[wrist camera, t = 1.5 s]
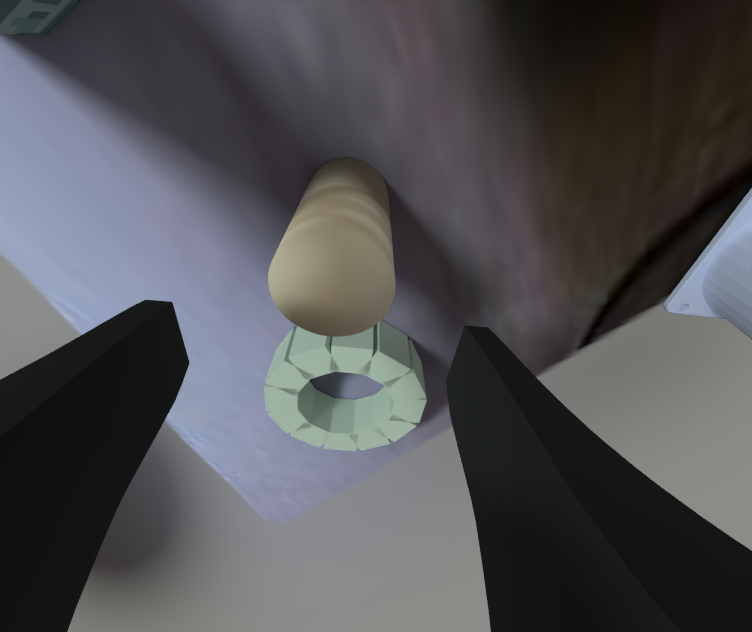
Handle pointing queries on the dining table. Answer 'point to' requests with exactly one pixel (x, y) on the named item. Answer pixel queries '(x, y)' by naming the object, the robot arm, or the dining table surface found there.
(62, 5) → the can
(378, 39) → the dining table surface
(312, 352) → the pale green segmented ring
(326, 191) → the beige cylinder
